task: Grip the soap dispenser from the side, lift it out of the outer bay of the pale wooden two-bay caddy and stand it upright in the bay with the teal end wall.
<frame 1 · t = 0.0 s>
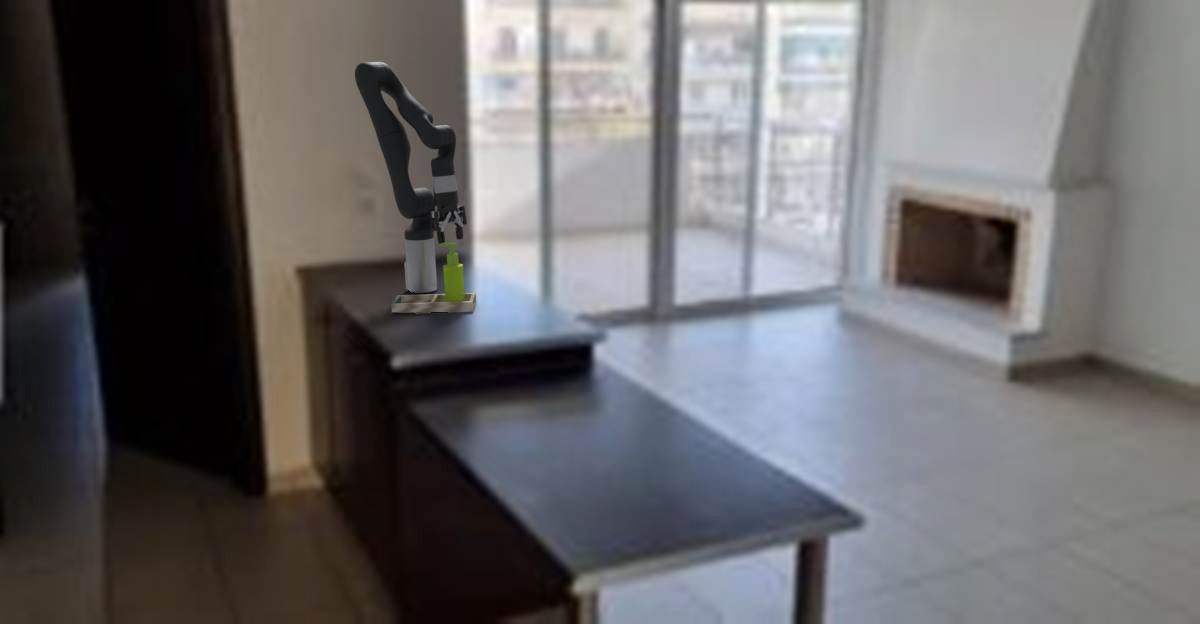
hand: (451, 241, 329), 17 cm above the kitchen counter, tool pointing down, fingers open, 8 cm apart
soap dispenser: (453, 308, 316), resting in caddy
caddy: (434, 308, 315), on the kitchen counter
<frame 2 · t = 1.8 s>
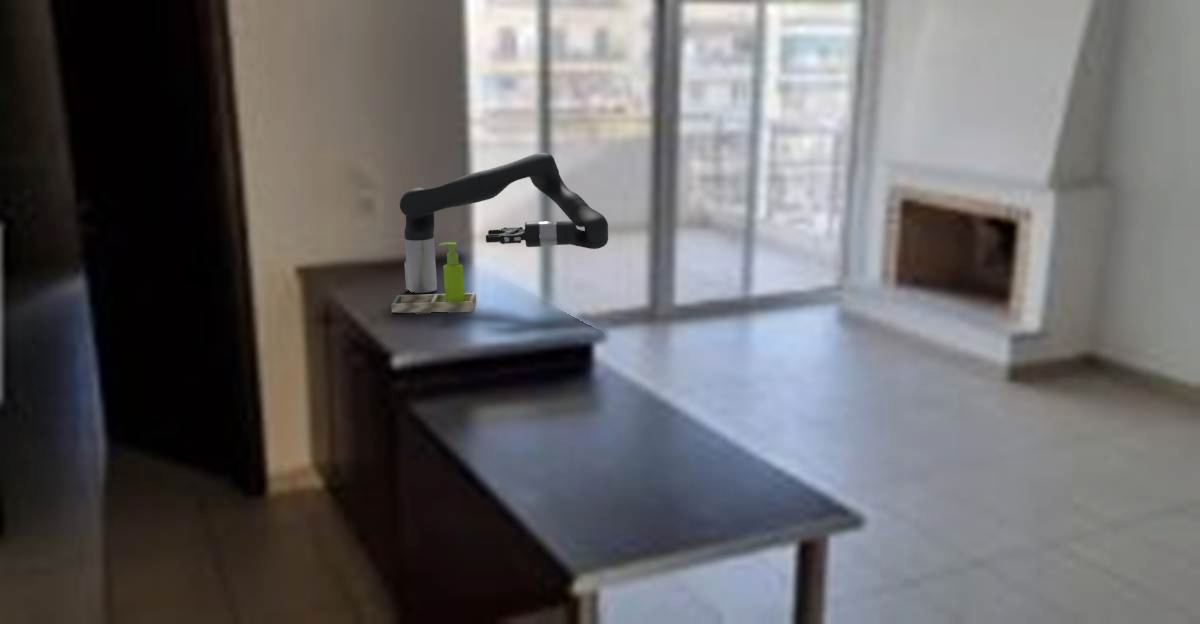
hand: (487, 236, 311), 22 cm above the kitchen counter, tool horizontal, fingers open, 8 cm apart
nothing on the kitchen counter moved.
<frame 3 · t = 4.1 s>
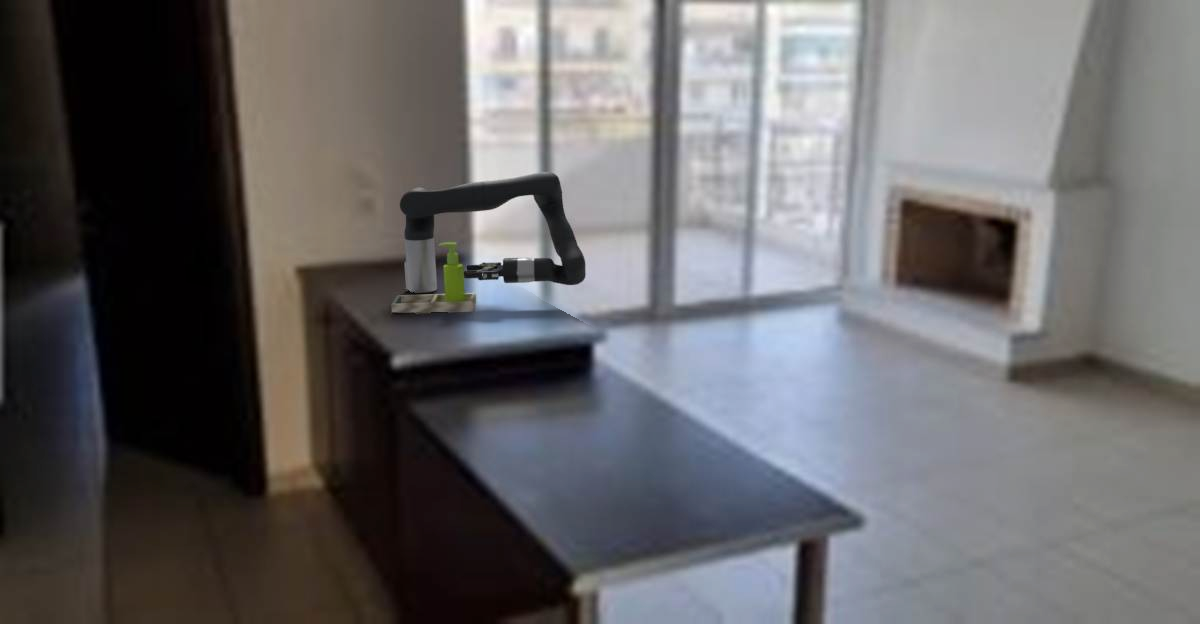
hand: (465, 271, 313), 11 cm above the kitchen counter, tool horizontal, fingers open, 8 cm apart
nothing on the kitchen counter moved.
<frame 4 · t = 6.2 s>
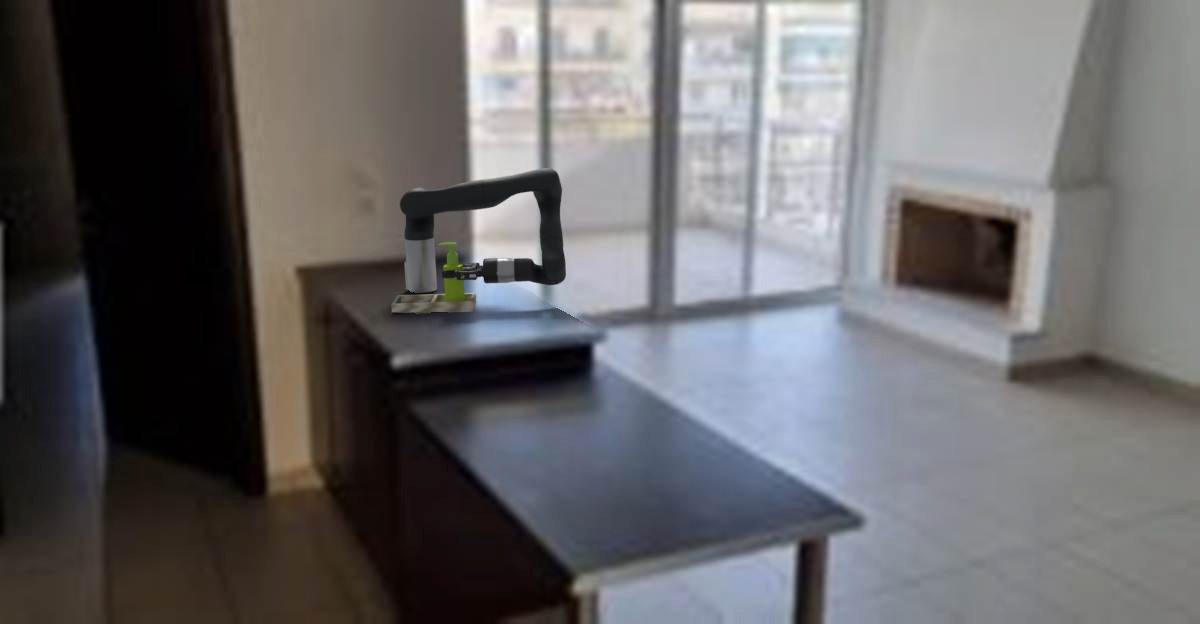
hand: (443, 272, 313), 11 cm above the kitchen counter, tool horizontal, fingers closed on soap dispenser, 6 cm apart
soap dispenser: (454, 308, 316), resting in caddy, touching gripper
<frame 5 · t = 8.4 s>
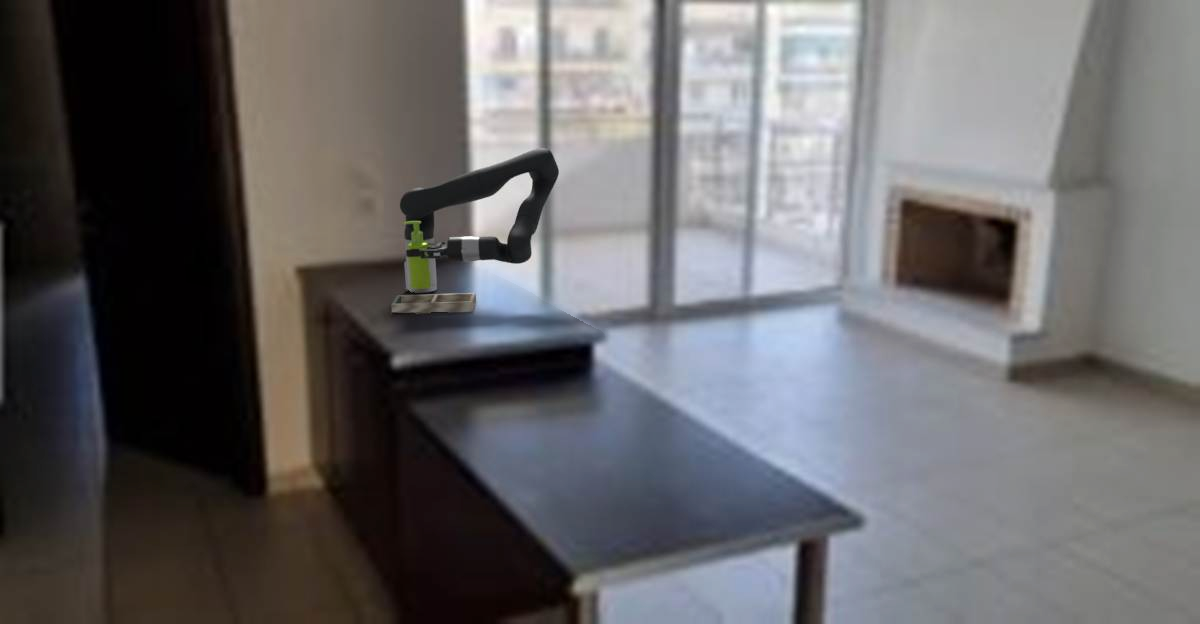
hand: (408, 251, 311), 18 cm above the kitchen counter, tool horizontal, fingers closed on soap dispenser, 6 cm apart
soap dispenser: (419, 287, 314), point 7 cm above the kitchen counter, touching gripper
when the fingers open (12 cm above the kitchen counter, at t = 10.5 s): soap dispenser stays where it is, resting in caddy.
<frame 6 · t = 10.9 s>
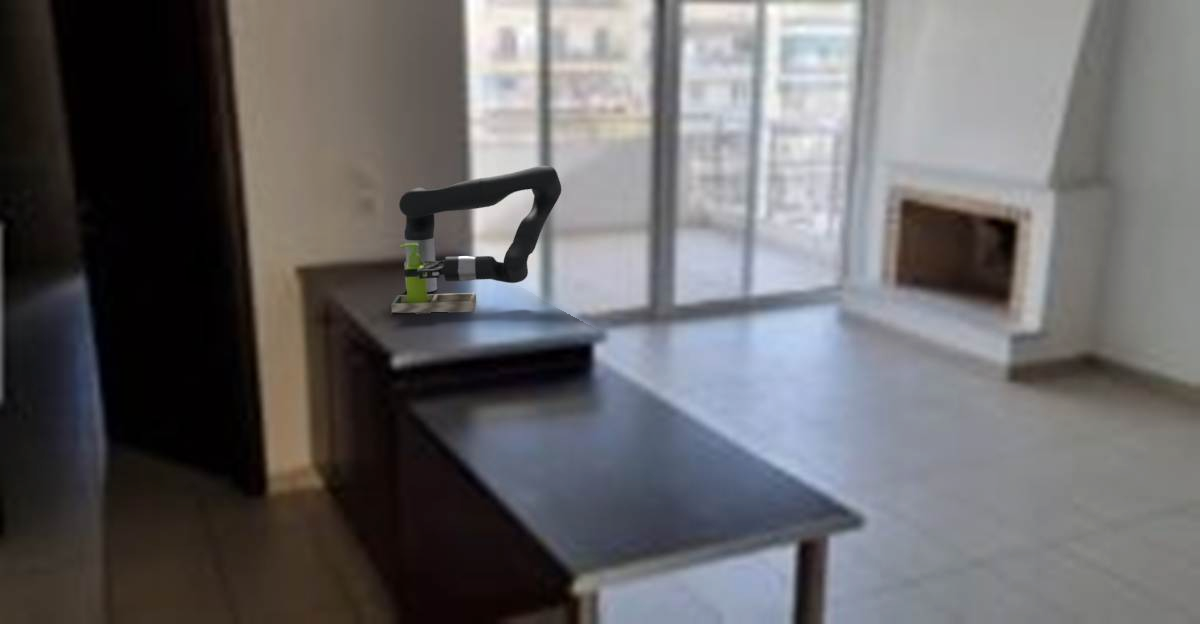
hand: (406, 270, 312), 12 cm above the kitchen counter, tool horizontal, fingers open, 8 cm apart
soap dispenser: (416, 309, 315), resting in caddy
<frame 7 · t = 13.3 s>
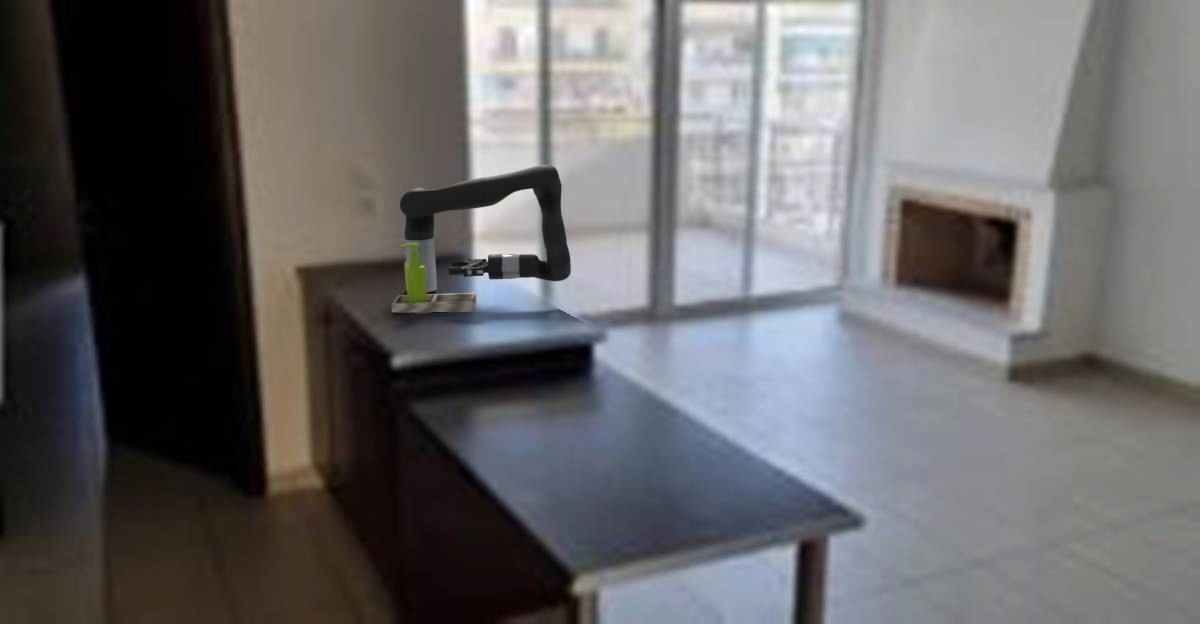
hand: (450, 268, 313), 12 cm above the kitchen counter, tool horizontal, fingers open, 8 cm apart
nothing on the kitchen counter moved.
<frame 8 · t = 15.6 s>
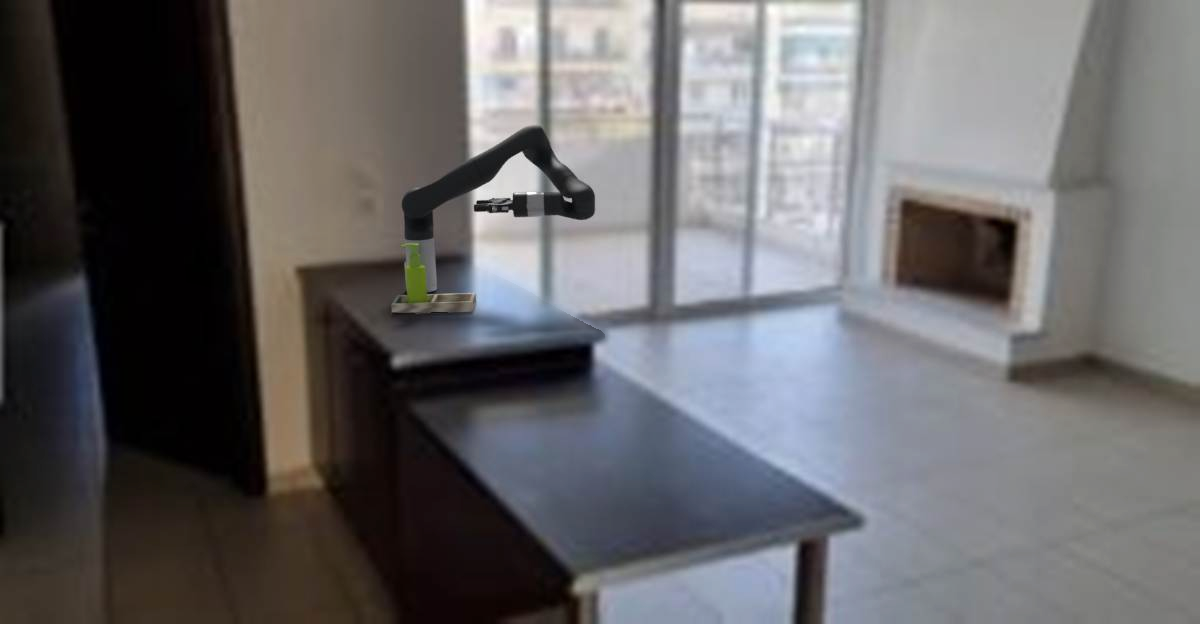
hand: (475, 206, 314), 30 cm above the kitchen counter, tool horizontal, fingers open, 8 cm apart
nothing on the kitchen counter moved.
at the end: soap dispenser 0.2 cm from the target spot, resting in caddy; soap dispenser tilted 0°; the gripper is holding nothing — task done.
